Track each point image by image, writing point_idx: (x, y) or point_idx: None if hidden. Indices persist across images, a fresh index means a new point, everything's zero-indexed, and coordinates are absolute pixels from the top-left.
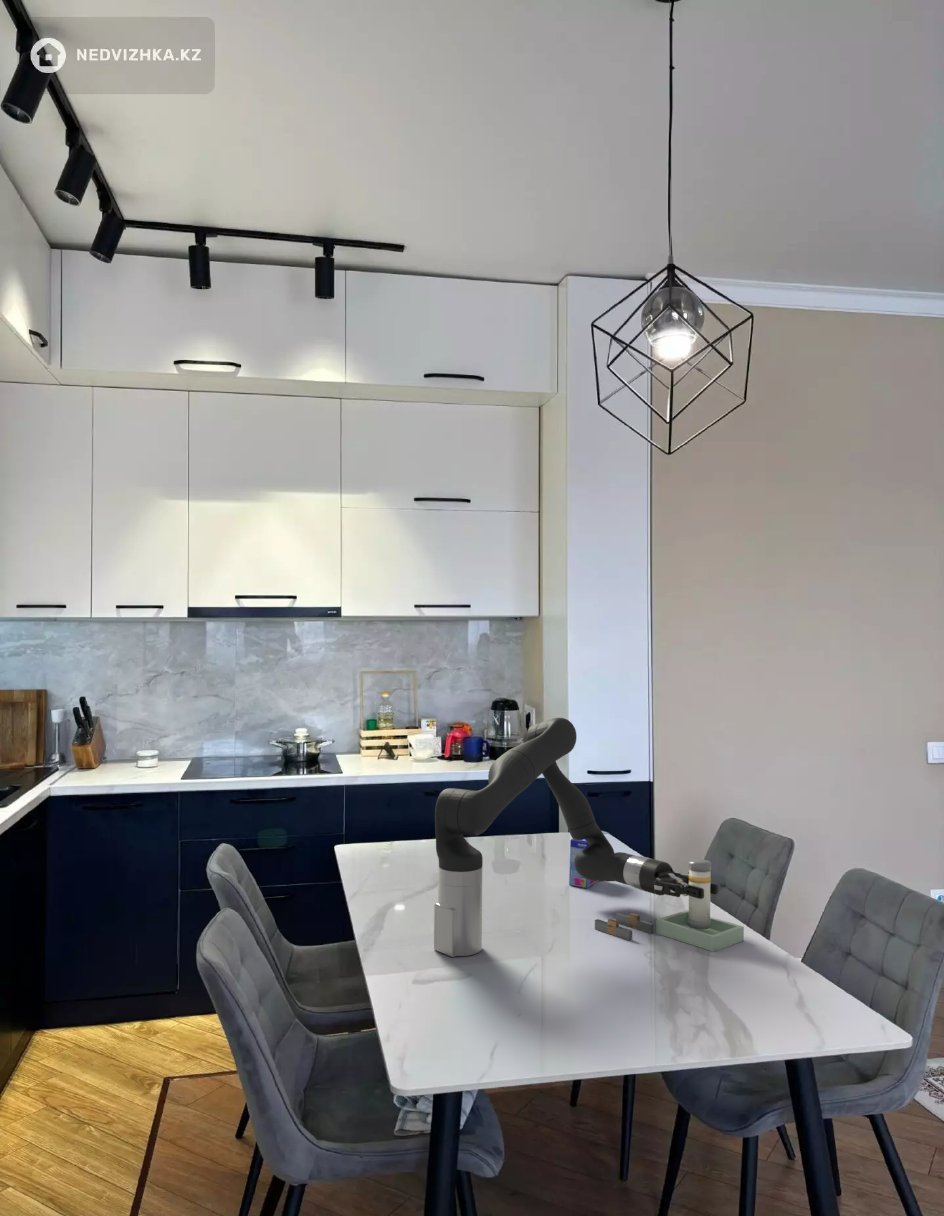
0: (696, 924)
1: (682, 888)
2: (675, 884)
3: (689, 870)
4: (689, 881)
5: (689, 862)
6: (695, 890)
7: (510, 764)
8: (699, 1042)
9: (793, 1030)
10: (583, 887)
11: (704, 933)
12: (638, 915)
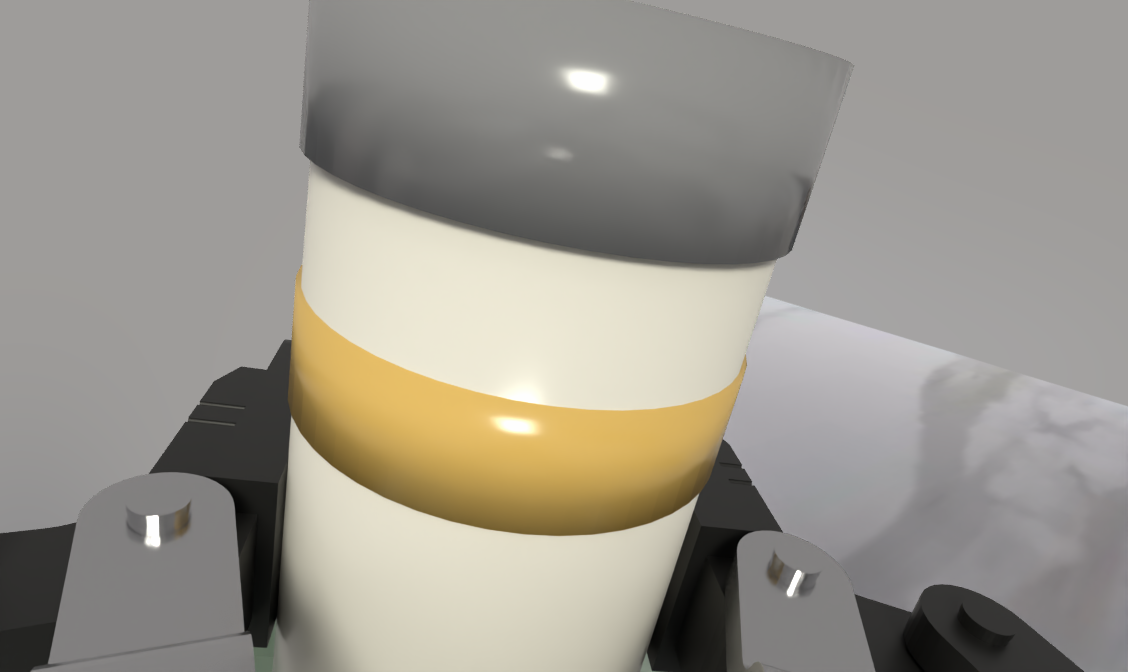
0: None
1: (866, 605)
2: (1026, 668)
3: (764, 281)
4: (693, 498)
5: (848, 73)
6: (730, 449)
7: None
8: (1082, 412)
9: (819, 336)
10: None
11: (642, 665)
12: None
